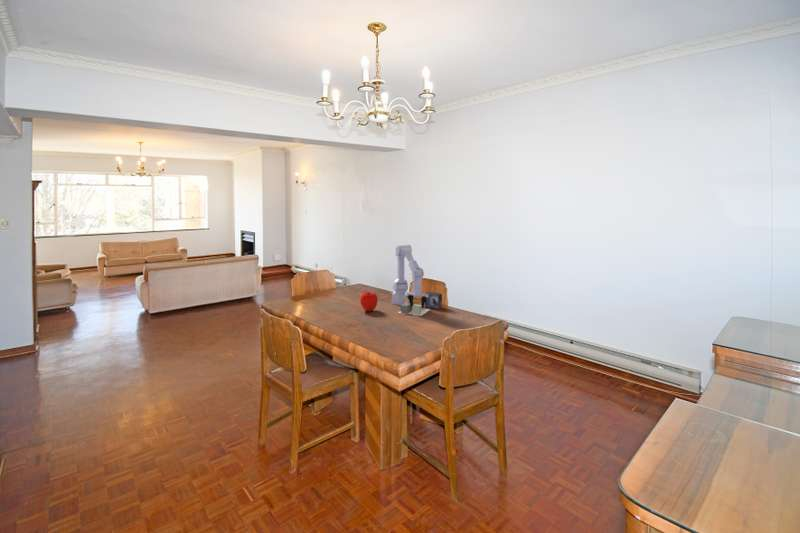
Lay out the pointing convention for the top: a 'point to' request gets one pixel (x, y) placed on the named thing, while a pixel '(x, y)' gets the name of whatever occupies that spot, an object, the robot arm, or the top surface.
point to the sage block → (416, 309)
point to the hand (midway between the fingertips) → (417, 307)
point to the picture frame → (434, 300)
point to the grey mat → (418, 314)
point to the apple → (368, 301)
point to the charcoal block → (405, 308)
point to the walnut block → (410, 305)
